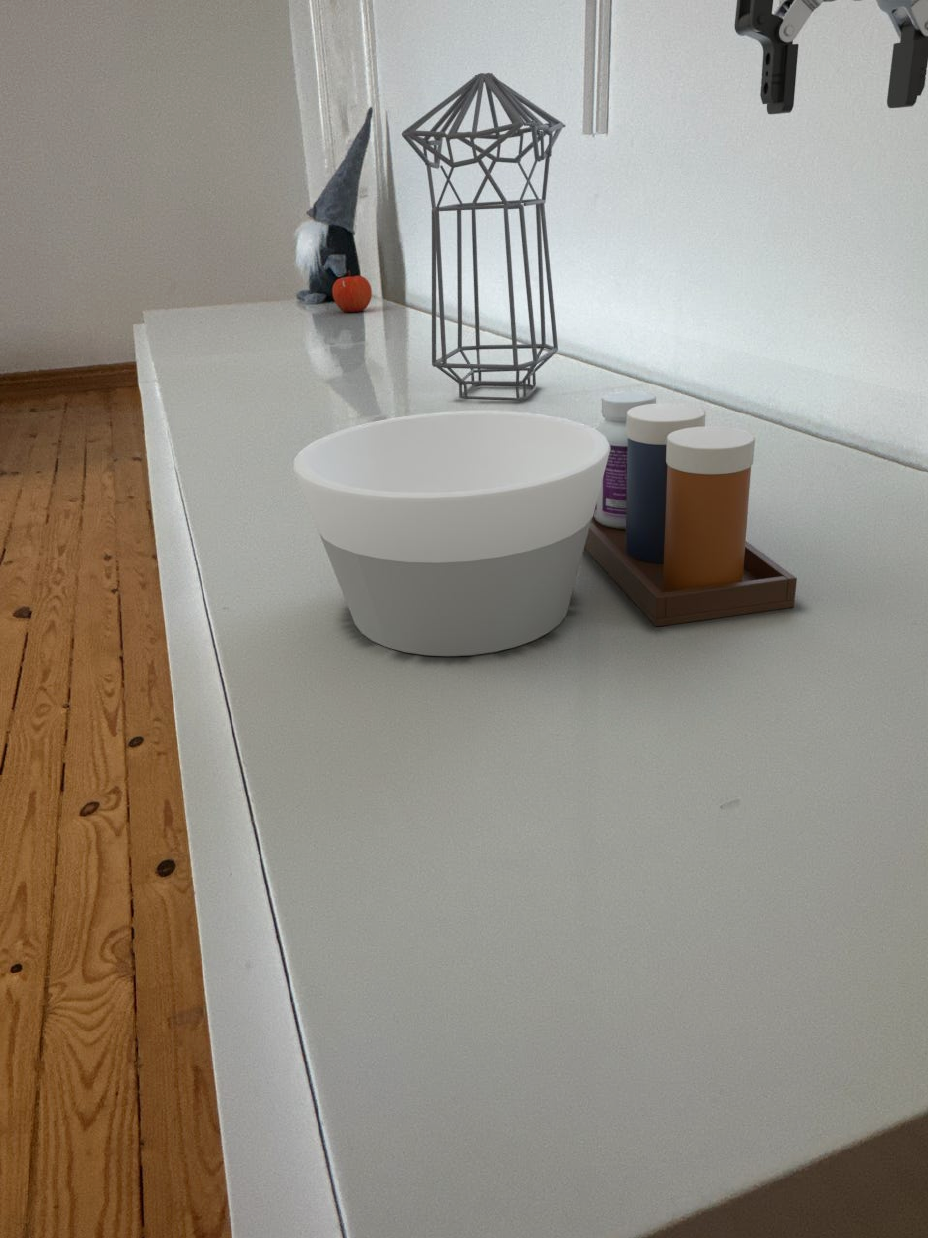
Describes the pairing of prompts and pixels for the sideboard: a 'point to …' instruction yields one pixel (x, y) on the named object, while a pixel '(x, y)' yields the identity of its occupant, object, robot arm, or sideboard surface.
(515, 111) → the geometric lantern
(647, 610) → the tray
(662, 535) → the slate bottle
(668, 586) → the amber bottle
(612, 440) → the pill bottle
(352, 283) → the apple
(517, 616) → the bowl
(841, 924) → the sideboard surface
